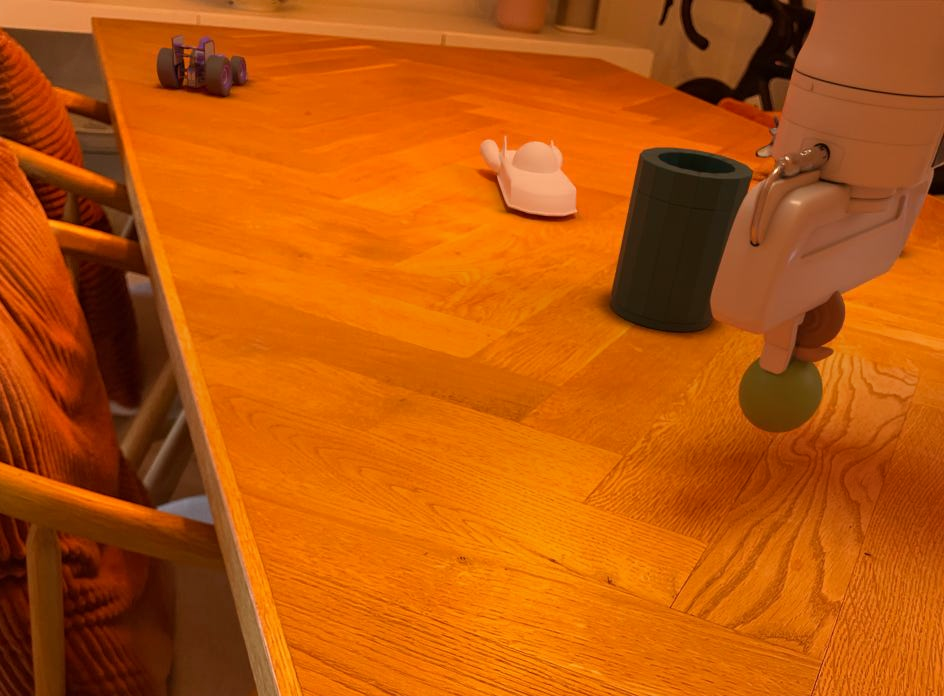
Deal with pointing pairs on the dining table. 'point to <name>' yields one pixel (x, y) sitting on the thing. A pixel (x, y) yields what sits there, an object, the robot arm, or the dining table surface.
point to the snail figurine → (793, 374)
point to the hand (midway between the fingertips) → (784, 363)
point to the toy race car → (200, 67)
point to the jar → (676, 236)
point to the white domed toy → (531, 178)
